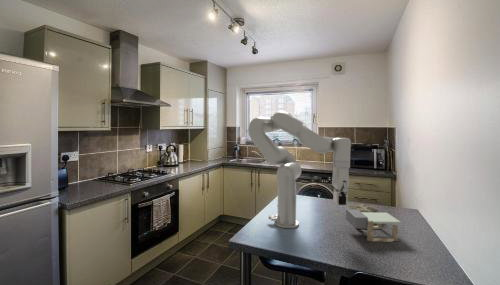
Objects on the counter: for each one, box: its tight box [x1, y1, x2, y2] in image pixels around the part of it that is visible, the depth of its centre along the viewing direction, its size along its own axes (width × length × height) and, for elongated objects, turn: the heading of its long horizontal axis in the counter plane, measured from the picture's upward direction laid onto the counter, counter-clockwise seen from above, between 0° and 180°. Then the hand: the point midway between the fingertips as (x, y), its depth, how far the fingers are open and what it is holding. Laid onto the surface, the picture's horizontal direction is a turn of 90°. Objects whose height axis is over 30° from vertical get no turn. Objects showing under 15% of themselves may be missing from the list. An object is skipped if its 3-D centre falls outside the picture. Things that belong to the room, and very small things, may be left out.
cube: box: [332, 188, 349, 206], centre depth 118 cm, size 5×5×6 cm
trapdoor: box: [345, 208, 402, 229], centre depth 119 cm, size 20×12×5 cm, turn 89°
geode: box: [346, 203, 381, 213], centre depth 141 cm, size 17×9×15 cm
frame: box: [355, 210, 399, 243], centre depth 119 cm, size 13×15×9 cm
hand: (340, 202), depth 118 cm, fingers closed on cube, 5 cm apart
